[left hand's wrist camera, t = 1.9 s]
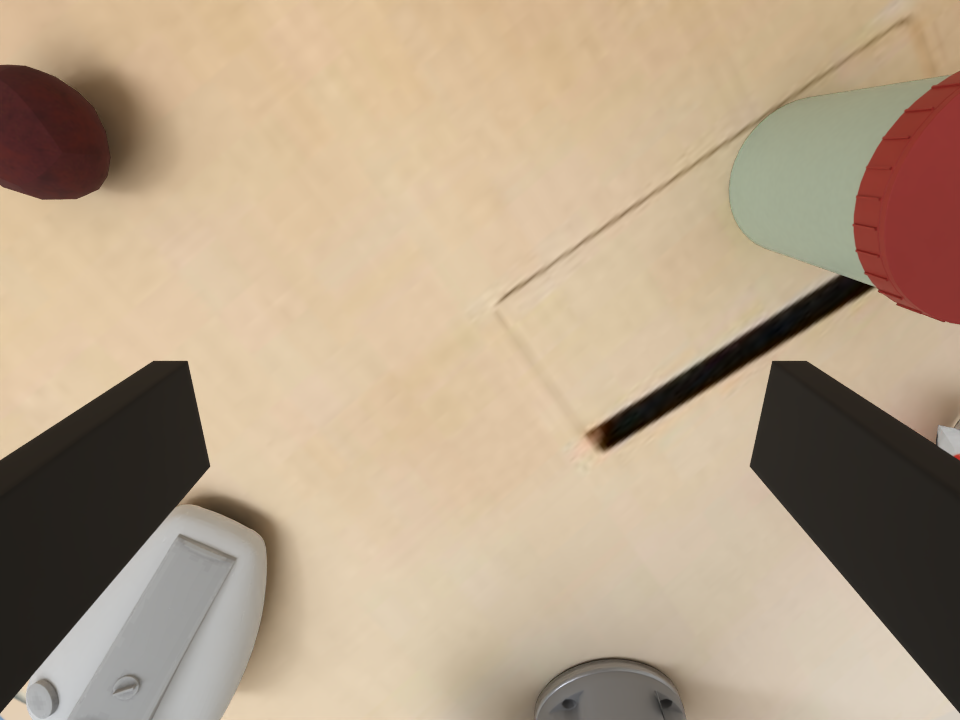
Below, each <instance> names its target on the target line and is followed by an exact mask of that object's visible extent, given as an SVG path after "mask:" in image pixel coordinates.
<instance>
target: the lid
mask: <svg viewBox="0 0 960 720" xmlns="http://www.w3.org/2000/svg"><path fill="white" fill-rule="evenodd" d="M852 226H853V232H854V240H855V247H856V250H855V252H857V254H858V257H859V260H860V263H861V265H862V267H863V269H864V271H865V272H864V274H865V275H867V276H868V277H869V279H870V280H871V282H872V283H873V284H874V285H875V286H876V287H877V288H878V289H879V290H878V292H879V293H882V294H884V295H886V296H887V297H888V298H890V299H891V300H892V301H894V302H896V303H897V304H896V305H898V306H901V307H903V308H906V309H909V310H911V311H914V312H917V313H919V314H923V315H926V316H928V317H931V318H934V319H937V320H939V321H942V322H945V321H946V322H949V323H955V324H960V71H959V72H957V73H955V74H953V75H951V76H949V77H948V78H946V79H945V80H943V81H942V82H940V83H939V84H937V85H933V86H932V87H931V89H930V90H929V91H927V92H926V93H925V94H924V95H923V96H921V97H920V98H919V99H918V100H916V101H915V102H914V103H913V104H912V105H911V106H910V107H909V108H908V109H905V110H904V113H903V114H902V115H901V116H900V117H899V118H898V120H897V121H896V122H895V123H894V125H893V126H892V127H891V128H890V129H889V131H888V132H887V133H886V135H885V136H883V137H882V141H881V142H880V144H879V145H878V147H877V148H876V150H875V152H874V154H873V156H872V158H871V160H870V161H869V163H868V165H867V166H866V170H865V173H864V175H863V178H862V180H861V183H860V187H859V190H858V194H857V195H856V203H855V210H854V224H852Z"/></svg>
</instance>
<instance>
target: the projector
mask: <svg viewBox="0 0 960 720" xmlns="http://www.w3.org/2000/svg"><path fill="white" fill-rule="evenodd" d="M266 578H267V554H266V546H265V543H264V540H263V539H262V537H261V536H260V535H259V534H258V533H257V532H255V531H254V530H252V529H250V528H248V527H246V526H244V525H242V524H240V523H238V522H237V521H235V520H232V519H230V518H228V517H226V516H223V515H221V514H219V513H216V512H214V511H211V510H208V509H205V508H202V507H200V506H197V505H192V504H184V505H180V506H177V507H175V508H174V510H173V511H172V512H171V513H170V514H169V515H168V517H167V518H166V519H165V520H164V521H163V522H162V524H161V525H160V526H159V527H158V528H157V530H156V531H155V532H154V533H153V534H152V535H151V537H150V538H149V539H148V540H147V541H146V542H145V544H144V545H143V546H142V547H141V548H140V550H139V551H138V552H137V553H136V554H135V555H134V557H133V558H132V559H131V560H130V561H129V562H128V564H127V565H126V566H125V567H124V568H123V569H122V571H121V572H120V573H119V574H118V575H117V577H116V578H115V579H114V580H113V581H112V582H111V584H110V585H109V586H108V587H107V588H106V589H105V591H104V592H103V593H102V594H101V595H100V597H99V598H98V599H97V600H96V601H95V602H94V604H93V605H92V606H91V607H90V608H89V609H88V611H87V612H86V613H85V614H84V615H83V617H82V618H81V619H80V620H79V621H78V622H77V624H76V625H75V626H74V627H73V628H72V629H71V631H70V632H69V633H68V634H67V635H66V636H65V638H64V639H63V640H62V641H61V642H60V644H59V645H58V646H57V647H56V648H55V649H54V651H53V652H52V653H51V654H50V655H49V656H48V658H47V659H46V660H45V661H44V662H43V664H42V665H41V666H40V667H39V668H38V669H37V671H36V672H35V673H34V674H33V675H32V676H31V678H30V680H29V683H28V687H27V692H26V705H27V710H28V712H29V714H30V716H31V718H32V720H220V719H221V718H222V716H223V714H224V713H225V711H226V709H227V707H228V705H229V703H230V701H231V699H232V698H233V696H234V694H235V692H236V689H237V687H238V685H239V683H240V681H241V678H242V676H243V674H244V672H245V669H246V667H247V664H248V661H249V659H250V656H251V653H252V650H253V647H254V644H255V641H256V637H257V634H258V630H259V626H260V622H261V617H262V612H263V606H264V599H265V590H266Z"/></svg>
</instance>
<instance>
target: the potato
mask: <svg viewBox="0 0 960 720" xmlns="http://www.w3.org/2000/svg"><path fill="white" fill-rule="evenodd" d="M109 163H110V153H109V147H108V142H107V136H106V132H105V129H104V127H103V125H102V123H101V121H100V119H99V117H98V115H97V113H96V111H95V109H94V107H93V106H92V105H91V104H90V103H89V102H88V101H87V100H86V99H85V98H83V97H82V96H81V95H80V94H79V93H78V92H77V91H76V90H74V89H73V88H71V87H70V86H68V85H67V84H65V83H64V82H62V81H61V80H59V79H58V78H56V77H55V76H52V75H49V74H47V73H44V72H42V71H39V70H36V69H33V68H30V67H27V66H20V65H0V185H1V186H2V187H4V188H8V189H11V190H14V191H17V192H20V193H23V194H26V195H30V196H33V197H36V198H39V199H42V200H48V199H78V198H80V197H83V196H85V195H87V194H89V193H91V192H94V191H96V190H98V189H99V188H100V187H101V185H102V183H103V182H104V180H105V179H106V177H107V176H108V170H109Z"/></svg>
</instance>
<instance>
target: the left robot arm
mask: <svg viewBox="0 0 960 720" xmlns="http://www.w3.org/2000/svg"><path fill="white" fill-rule="evenodd" d="M209 467H210V463H209V458H208V454H207V449H206V444H205V440H204V435H203V430H202V426H201V421H200V416H199V412H198V407H197V402H196V398H195V393H194V388H193V384H192V379H191V375H190V370H189V365H188V361H153V362H151V363H150V364H148V365H147V366H145V367H143V368H142V369H140V370H139V371H137V372H136V373H134V374H133V375H131V376H130V377H128V378H126V379H125V380H123V381H122V382H120V383H119V384H117V385H116V386H114V387H113V388H111V389H109V390H108V391H106V392H105V393H103V394H102V395H100V396H99V397H97V398H96V399H94V400H93V401H91V402H89V403H88V404H86V405H85V406H83V407H82V408H80V409H79V410H77V411H76V412H74V413H72V414H71V415H69V416H68V417H66V418H65V419H63V420H62V421H60V422H59V423H57V424H56V425H54V426H52V427H51V428H49V429H48V430H46V431H45V432H43V433H42V434H40V435H39V436H37V437H35V438H34V439H32V440H31V441H29V442H28V443H26V444H25V445H23V446H22V447H20V448H18V449H17V450H15V451H14V452H12V453H11V454H9V455H8V456H6V457H5V458H3V459H2V460H0V713H1V712H2V711H3V709H4V708H5V707H6V706H7V705H8V703H9V702H10V701H11V700H12V699H13V698H14V696H15V695H16V694H17V693H18V692H19V691H20V689H21V688H22V687H23V686H24V685H25V684H26V682H27V681H28V680H29V679H30V678H31V676H32V675H33V674H34V673H35V672H36V671H37V669H38V668H39V667H40V666H41V665H42V664H43V662H44V661H45V660H46V659H47V658H48V656H49V655H50V654H51V653H52V652H53V651H54V649H55V648H56V647H57V646H58V645H59V644H60V642H61V641H62V640H63V639H64V638H65V636H66V635H67V634H68V633H69V632H70V631H71V629H72V628H73V627H74V626H75V625H76V624H77V622H78V621H79V620H80V619H81V618H82V617H83V615H84V614H85V613H86V612H87V611H88V609H89V608H90V607H91V606H92V605H93V604H94V602H95V601H96V600H97V599H98V598H99V597H100V595H101V594H102V593H103V592H104V591H105V589H106V588H107V587H108V586H109V585H110V584H111V582H112V581H113V580H114V579H115V578H116V577H117V575H118V574H119V573H120V572H121V571H122V569H123V568H124V567H125V566H126V565H127V564H128V562H129V561H130V560H131V559H132V558H133V557H134V555H135V554H136V553H137V552H138V551H139V550H140V548H141V547H142V546H143V545H144V544H145V542H146V541H147V540H148V539H149V538H150V537H151V535H152V534H153V533H154V532H155V531H156V530H157V528H158V527H159V526H160V525H161V524H162V522H163V521H164V520H165V519H166V518H167V517H168V515H169V514H170V513H171V512H172V511H173V510H174V508H175V507H176V506H177V505H178V504H179V502H180V501H181V500H182V499H183V498H184V497H185V495H186V494H187V493H188V492H189V491H190V490H191V488H192V487H193V486H194V485H195V484H196V483H197V481H198V480H199V479H200V478H201V477H202V475H203V474H204V473H205V472H206V471H207V470H208V468H209ZM750 467H751V468H752V470H753V471H754V472H755V473H756V474H757V475H758V477H759V478H760V479H761V480H762V481H763V483H764V484H765V485H766V486H767V487H768V488H769V490H770V491H771V492H772V493H773V494H774V495H775V497H776V498H777V499H778V500H779V501H780V502H781V504H782V505H783V506H784V507H785V508H786V510H787V511H788V512H789V513H790V514H791V515H792V517H793V518H794V519H795V520H796V521H797V522H798V524H799V525H800V526H801V527H802V528H803V530H804V531H805V532H806V533H807V534H808V535H809V537H810V538H811V539H812V540H813V541H814V542H815V544H816V545H817V546H818V547H819V548H820V550H821V551H822V552H823V553H824V554H825V555H826V557H827V558H828V559H829V560H830V561H831V562H832V564H833V565H834V566H835V567H836V568H837V569H838V571H839V572H840V573H841V574H842V575H843V577H844V578H845V579H846V580H847V581H848V582H849V584H850V585H851V586H852V587H853V588H854V589H855V591H856V592H857V593H858V594H859V595H860V597H861V598H862V599H863V600H864V601H865V602H866V604H867V605H868V606H869V607H870V608H871V609H872V611H873V612H874V613H875V614H876V615H877V617H878V618H879V619H880V620H881V621H882V622H883V624H884V625H885V626H886V627H887V628H888V629H889V631H890V632H891V633H892V634H893V635H894V636H895V638H896V639H897V640H898V641H899V642H900V644H901V645H902V646H903V647H904V648H905V649H906V651H907V652H908V653H909V654H910V655H911V656H912V658H913V659H914V660H915V661H916V662H917V664H918V665H919V666H920V667H921V668H922V669H923V671H924V672H925V673H926V674H927V675H928V676H929V678H930V679H931V680H932V681H933V682H934V684H935V685H936V686H937V687H938V688H939V689H940V691H941V692H942V693H943V694H944V695H945V696H946V698H947V699H948V700H949V701H950V702H951V703H952V705H953V706H954V707H955V708H956V709H957V711H958V712H959V713H960V460H958V459H957V458H955V457H954V456H952V455H951V454H949V453H948V452H946V451H945V450H943V449H942V448H940V447H938V446H937V445H935V444H934V443H932V442H931V441H929V440H928V439H926V438H925V437H923V436H921V435H920V434H918V433H917V432H915V431H914V430H912V429H911V428H909V427H908V426H906V425H904V424H903V423H901V422H900V421H898V420H897V419H895V418H894V417H892V416H891V415H889V414H888V413H886V412H884V411H883V410H881V409H880V408H878V407H877V406H875V405H874V404H872V403H871V402H869V401H867V400H866V399H864V398H863V397H861V396H860V395H858V394H857V393H855V392H854V391H852V390H851V389H849V388H847V387H846V386H844V385H843V384H841V383H840V382H838V381H837V380H835V379H834V378H832V377H830V376H829V375H827V374H826V373H824V372H823V371H821V370H820V369H818V368H817V367H815V366H813V365H812V364H810V363H809V362H807V361H772V365H771V370H770V375H769V379H768V384H767V388H766V393H765V398H764V402H763V407H762V412H761V416H760V421H759V426H758V430H757V435H756V440H755V444H754V449H753V454H752V458H751V463H750ZM535 720H686V716H685V712H684V707H683V704H682V701H681V699H680V696H679V693H678V691H677V689H676V687H675V686H674V684H673V683H672V682H671V681H670V679H669V678H667V677H666V676H665V675H664V674H663V673H661V672H660V671H658V670H656V669H655V668H652V667H650V666H648V665H645V664H642V663H639V662H634V661H629V660H617V659H611V660H599V661H593V662H589V663H585V664H581V665H578V666H576V667H573V668H571V669H569V670H567V671H565V672H563V673H562V674H560V675H558V676H557V677H556V678H554V679H553V680H552V681H551V682H550V683H549V684H548V685H547V686H546V687H545V688H544V690H543V691H542V692H541V694H540V696H539V697H538V700H537V702H536V706H535Z"/></svg>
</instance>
